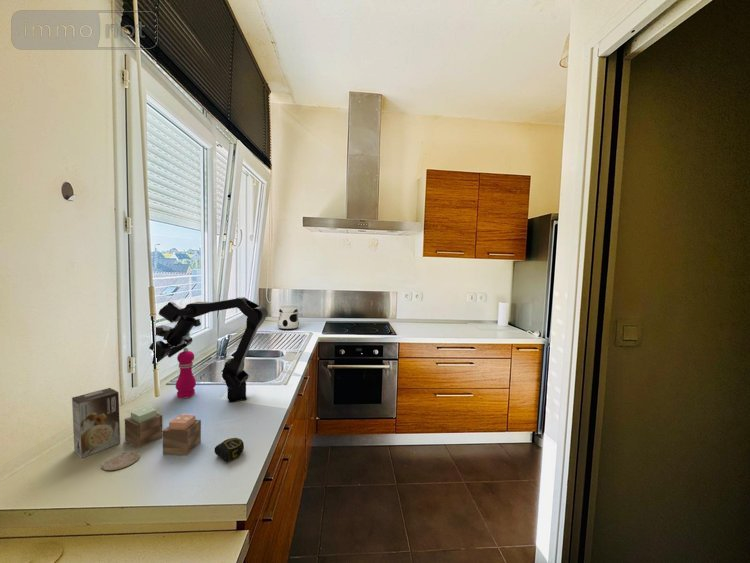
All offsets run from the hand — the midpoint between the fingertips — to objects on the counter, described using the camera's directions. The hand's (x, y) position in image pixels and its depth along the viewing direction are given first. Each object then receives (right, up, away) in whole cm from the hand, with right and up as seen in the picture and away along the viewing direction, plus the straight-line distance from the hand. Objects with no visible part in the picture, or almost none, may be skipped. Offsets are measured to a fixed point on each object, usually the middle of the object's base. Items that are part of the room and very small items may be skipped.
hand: (161, 360), depth 126 cm
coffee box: (+5, -17, -34) cm, 39 cm away
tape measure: (+45, -19, -36) cm, 61 cm away
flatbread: (+17, -18, -40) cm, 47 cm away
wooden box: (+29, -18, -33) cm, 47 cm away
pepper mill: (+9, -15, +2) cm, 18 cm away
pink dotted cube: (+29, -13, -33) cm, 46 cm away
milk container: (+15, -7, +133) cm, 134 cm away
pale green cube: (+15, -13, -30) cm, 35 cm away
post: (+15, -17, -29) cm, 37 cm away
